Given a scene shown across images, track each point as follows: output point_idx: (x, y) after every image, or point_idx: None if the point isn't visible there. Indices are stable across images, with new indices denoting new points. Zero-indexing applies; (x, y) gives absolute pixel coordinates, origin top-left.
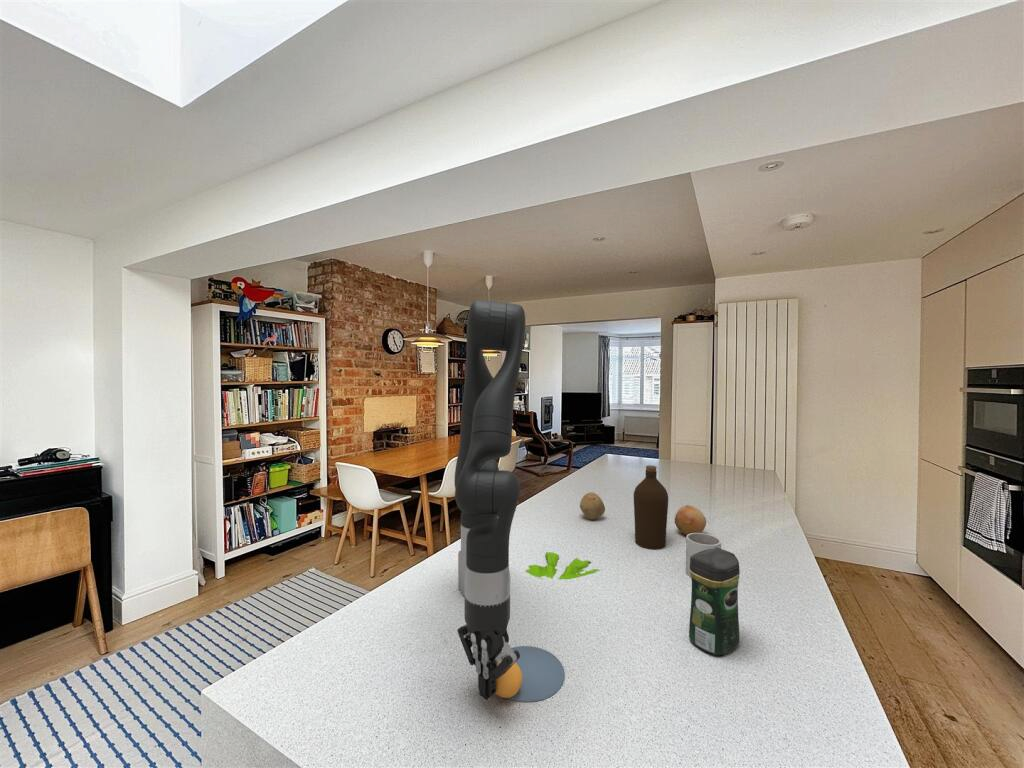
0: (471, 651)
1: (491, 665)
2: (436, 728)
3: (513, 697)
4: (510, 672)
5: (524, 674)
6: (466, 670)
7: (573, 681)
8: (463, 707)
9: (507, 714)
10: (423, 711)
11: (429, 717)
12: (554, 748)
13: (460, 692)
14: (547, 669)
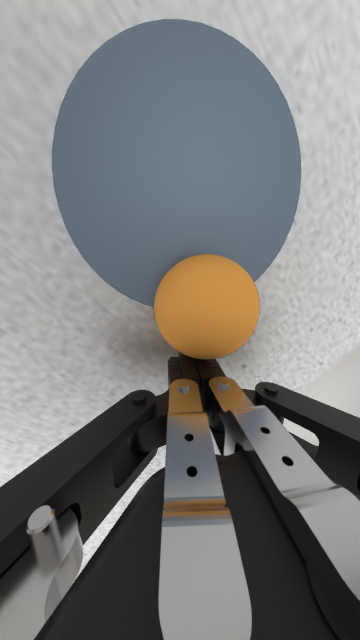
0: (130, 477)
1: (212, 399)
2: None
3: None
4: (250, 331)
5: (190, 208)
6: (53, 315)
7: (319, 115)
8: (153, 388)
9: None
10: None
11: None
12: (351, 329)
13: (112, 370)
14: (232, 129)
